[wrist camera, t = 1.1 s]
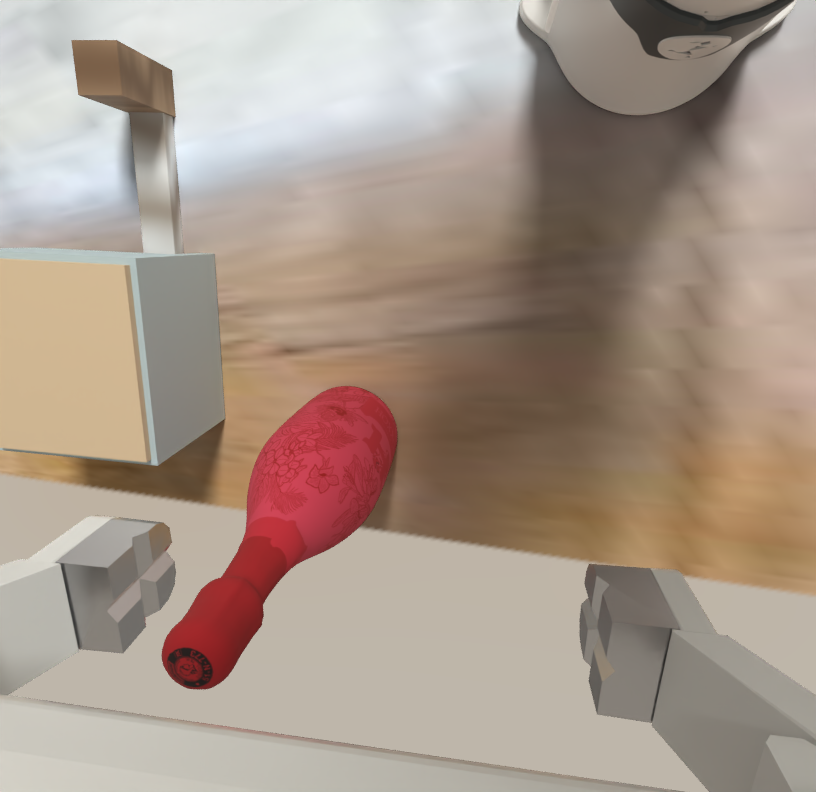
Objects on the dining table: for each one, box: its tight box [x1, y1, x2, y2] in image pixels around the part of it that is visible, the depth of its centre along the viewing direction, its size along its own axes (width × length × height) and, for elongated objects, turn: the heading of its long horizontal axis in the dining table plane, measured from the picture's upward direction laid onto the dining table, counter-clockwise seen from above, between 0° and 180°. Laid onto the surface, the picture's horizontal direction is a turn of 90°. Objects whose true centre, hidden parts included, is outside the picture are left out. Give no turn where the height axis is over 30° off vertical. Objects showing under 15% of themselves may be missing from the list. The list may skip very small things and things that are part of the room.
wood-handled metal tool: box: [72, 40, 184, 254], centre depth 43 cm, size 18×4×7 cm, turn 178°
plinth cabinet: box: [0, 248, 225, 466], centre depth 45 cm, size 16×14×12 cm
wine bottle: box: [162, 386, 397, 689], centre depth 37 cm, size 10×10×30 cm
